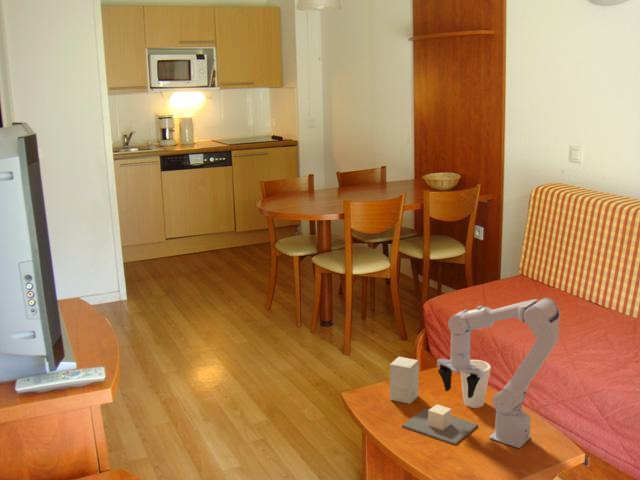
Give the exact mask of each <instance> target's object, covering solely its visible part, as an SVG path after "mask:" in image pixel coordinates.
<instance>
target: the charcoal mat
mask: <svg viewBox="0 0 640 480" xmlns="http://www.w3.org/2000/svg"><path fill="white" fill-rule="evenodd" d="M429 409H430V408H427V407H426V408H424V409H422V410H421V411H419V412H418V413H416V414H415V415H414V416H411V418H410V419H408V420H406V421H405V422H404V423H402V424H401V427H402V428H405V429H407V430H410V431H413V432H416V433H418V434H419V433H420V434H422V435H425V436H427V437H430V438H433V439H436V440H439V441H442V442H445V443H447V444H451V445H454V446H456V445H457V444H459V443H460V442H461V441H463V440H464V439H465V438H466V437H467V436H468V435H469V434H471V433H472V432H473V431H474V430H476V429H477V427H478V426H479V425H478V423H475V422H472V421H468V420H466V419H463V418H459V417H457V416H453V415H451V425H449V426H448V427H447V428H445V429H444V430H440V429H437V428H434V427H431V426H428V410H429Z"/></svg>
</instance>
